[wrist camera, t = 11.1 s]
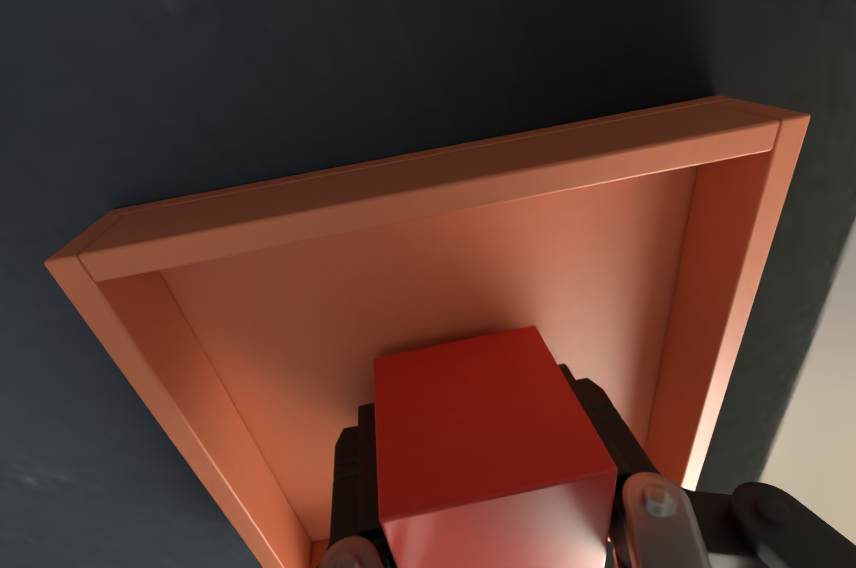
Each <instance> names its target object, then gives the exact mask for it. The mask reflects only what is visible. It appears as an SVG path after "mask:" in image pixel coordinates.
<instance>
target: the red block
mask: <svg viewBox="0 0 856 568" xmlns="http://www.w3.org/2000/svg"><path fill="white" fill-rule="evenodd" d="M373 378H374V403H375V429H376V454H377V480H378V505H379V522H380V524H381V527H382V529H383V532H384V535H385V537H386V540H387V542H388V545H389V548H390V550H391V553H392V556H393V558H394V561H395V563H396V566H397V568H604V565H605V558H606V551H607V544H608V537H609V530H610V523H611V516H612V508H613V501H614V494H615V487H616V480H617V473H618V469H617V467H616V465H615V463H614V461H613V460H612V458H611V456H610V454H609V453H608V451H607V449H606V447H605V446H604V444H603V442H602V441H601V439H600V437H599V435H598V434H597V432H596V430H595V428H594V427H593V425H592V423H591V421H590V420H589V418H588V416H587V415H586V413H585V411H584V409H583V408H582V406H581V404H580V402H579V401H578V399H577V397H576V396H575V394H574V392H573V390H572V389H571V387H570V385H569V383H568V382H567V380H566V378H565V376H564V375H563V373H562V371H561V370H560V368H559V366H558V364H557V363H556V361H555V359H554V357H553V356H552V354H551V352H550V350H549V349H548V347H547V345H546V344H545V342H544V340H543V338H542V337H541V335H540V333H539V331H538V330H537V328H536V326H528V327H524V328H519V329H514V330H509V331H504V332H499V333H494V334H489V335H485V336H480V337H475V338H470V339H465V340H460V341H455V342H451V343H446V344H441V345H436V346H431V347H426V348H421V349H417V350H412V351H407V352H402V353H397V354H392V355H387V356H383V357H378V358H374V359H373Z"/></svg>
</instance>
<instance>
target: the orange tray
mask: <svg viewBox="0 0 856 568" xmlns="http://www.w3.org/2000/svg"><path fill="white" fill-rule="evenodd" d="M809 120H810V115H809V114H807V113H802V112H797V111H792V110H787V109H783V108H778V107H773V106H768V105H763V104H758V103H754V102H749V101H744V100H739V99H734V98H733V99H732V98H729V97H725V96H720V95H716V96H711V97H705V98H700V99H695V100H690V101H684V102H679V103H674V104H668V105H663V106H658V107H653V108H647V109H642V110H637V111H631V112H626V113H621V114H616V115H610V116H605V117H600V118H594V119H589V120H584V121H579V122H573V123H568V124H563V125H557V126H552V127H547V128H542V129H536V130H531V131H526V132H520V133H515V134H510V135H505V136H499V137H494V138H489V139H483V140H478V141H473V142H468V143H462V144H457V145H452V146H446V147H441V148H436V149H431V150H425V151H420V152H415V153H409V154H404V155H399V156H394V157H388V158H383V159H378V160H372V161H367V162H362V163H357V164H351V165H346V166H341V167H335V168H330V169H325V170H320V171H314V172H309V173H304V174H298V175H293V176H288V177H283V178H277V179H272V180H267V181H261V182H256V183H251V184H246V185H240V186H235V187H230V188H224V189H219V190H214V191H209V192H203V193H198V194H193V195H187V196H182V197H177V198H172V199H166V200H161V201H156V202H150V203H145V204H140V205H135V206H129V207H124V208H119V209H113V210H111V211H109V212H108V213H107V214H106V215H104V216H103V217H102V218H101V219H99V220H98V221H97V222H95V223H94V224H93V225H92V226H90V227H89V228H88V229H86V230H85V231H84V232H82V233H81V234H80V235H78V236H77V237H76V238H74V239H73V240H72V241H71V242H69V243H68V244H67V245H65V246H64V247H63V248H61V249H60V250H59V251H57V252H56V253H55V254H53V255H52V256H51V257H50V258H48V259H47V260H46V261H45V262H44V264H45V266H46V267H47V269H48V270H49V272H50V273H51V274H52V276H53V277H54V279H55V280H56V281H57V283H58V284H59V285H60V287H61V288H62V290H63V291H64V292H65V294H66V295H67V297H68V298H69V299H70V301H71V302H72V303H73V305H74V306H75V308H76V309H77V310H78V312H79V313H80V315H81V316H82V317H83V319H84V320H85V321H86V323H87V324H88V326H89V327H90V328H91V330H92V331H93V333H94V334H95V335H96V337H97V338H98V339H99V341H100V342H101V344H102V345H103V346H104V348H105V349H106V351H107V352H108V353H109V355H110V356H111V357H112V359H113V360H114V362H115V363H116V364H117V366H118V367H119V369H120V370H121V371H122V373H123V374H124V376H125V377H126V378H127V380H128V381H129V382H130V384H131V385H132V387H133V388H134V389H135V391H136V392H137V394H138V395H139V396H140V398H141V399H142V400H143V402H144V403H145V405H146V406H147V407H148V409H149V410H150V412H151V413H152V414H153V416H154V417H155V418H156V420H157V421H158V423H159V424H160V425H161V427H162V428H163V430H164V431H165V432H166V434H167V435H168V436H169V438H170V439H171V441H172V442H173V443H174V445H175V446H176V448H177V449H178V450H179V452H180V453H181V454H182V456H183V457H184V459H185V460H186V461H187V463H188V464H189V466H190V467H191V468H192V470H193V471H194V473H195V474H196V475H197V477H198V478H199V479H200V481H201V482H202V484H203V485H204V486H205V488H206V489H207V491H208V492H209V493H210V495H211V496H212V497H213V499H214V500H215V502H216V503H217V504H218V506H219V507H220V509H221V510H222V511H223V513H224V514H225V515H226V517H227V518H228V520H229V521H230V522H231V524H232V525H233V527H234V528H235V529H236V531H237V532H238V533H239V535H240V536H241V538H242V539H243V540H244V542H245V543H246V545H247V546H248V547H249V549H250V550H251V551H252V553H253V554H254V556H255V557H256V558H257V560H258V561H259V563H260V564H261V565H262V567H263V568H316V567H317V566H318V564H319V563H320V561H321V560H322V558H323V556H324V554H325V553H326V550H327V548H328V544H329V539H330V525H331V507H332V490H333V482H334V479H333V472H334V454H335V445H336V442H337V440H338V438H339V436H340V434H341V432H342V430H343V429H344V428H348V427H353V426H358V407H359V406H360V405H365V404H369V403H374V378H373V359H374V358H378V357H383V356H387V355H392V354H397V353H402V352H407V351H412V350H417V349H421V348H426V347H431V346H436V345H441V344H446V343H451V342H455V341H460V340H465V339H470V338H475V337H480V336H485V335H489V334H494V333H499V332H504V331H509V330H514V329H519V328H524V327H528V326H536V328H537V330H538V331H539V333H540V335H541V337H542V338H543V340H544V342H545V344H546V345H547V347H548V349H549V350H550V352H551V354H552V356H553V357H554V359H555V361H556V363H557V364H563V363H564V364H566V365H567V366H568V368H569V369H570V371H571V373H572V374H573V376H574V378H575V379H576V380H578V379H583V378H589V379H590V380H591V381H593V382H594V383H596V384H597V385H598V386H600V387H601V388H602V389H603V390H604V391H605V393H606V394H607V396H608V397H609V399H610V400H611V402H612V403H613V406H614V407H615V408H616V409H617V411H618V412H619V414H620V415H621V418H622V420H624V421H625V423H626V424H627V426H628V427H629V429H630V430H631V432H632V433H633V435H634V437H635V438H636V440H637V441H638V443H639V444H640V446H641V447H642V449H643V450H644V452H645V453H646V455H647V456H648V458H649V459H650V461H651V462H652V464H653V465H654V467H655V468H656V469H657V470H658V471H659V472H660V473H661V475H663V476H666V477H667V478H669V479H671V480H673V481H674V482H675V483H677V484H678V485H679V486H680V487H683V488H685V489H688V490H692V491H695V488H696V485H697V482H698V478H699V475H700V472H701V469H702V465H703V462H704V459H705V456H706V453H707V449H708V446H709V443H710V440H711V436H712V433H713V430H714V427H715V423H716V420H717V417H718V414H719V411H720V407H721V404H722V401H723V398H724V394H725V391H726V388H727V385H728V381H729V378H730V375H731V372H732V369H733V365H734V362H735V359H736V356H737V352H738V349H739V346H740V343H741V339H742V336H743V333H744V330H745V327H746V323H747V320H748V317H749V314H750V310H751V307H752V304H753V301H754V298H755V294H756V291H757V288H758V285H759V281H760V278H761V275H762V272H763V268H764V265H765V262H766V259H767V256H768V252H769V249H770V246H771V243H772V239H773V236H774V233H775V230H776V226H777V223H778V220H779V217H780V214H781V210H782V207H783V204H784V201H785V197H786V194H787V191H788V188H789V184H790V181H791V178H792V175H793V172H794V168H795V165H796V162H797V159H798V155H799V152H800V149H801V146H802V143H803V139H804V136H805V133H806V130H807V126H808V123H809ZM608 541H610V538H609V537H608Z"/></svg>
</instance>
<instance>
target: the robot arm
mask: <svg viewBox="0 0 856 568" xmlns="http://www.w3.org/2000/svg"><path fill="white" fill-rule="evenodd" d="M558 366H559V368H560V370H561V371H562V373H563V375H564V376H565V378H566V380H567V382H568V383H569V385H570V387H571V389H572V390H573V392H574V394H575V396H576V397H577V399H578V401H579V402H580V404H581V406H582V408H583V409H584V411H585V413H586V415H587V416H588V418H589V420H590V421H591V423H592V425H593V427H594V428H595V430H596V432H597V434H598V435H599V437H600V439H601V441H602V442H603V444H604V446H605V447H606V449H607V451H608V453H609V454H610V456H611V458H612V460H613V461H614V463H615V465H616V467H617V469H618V473H617V480H616V487H615V494H614V501H613V508H612V516H611V523H610V530H609V538H610V541H611V543H612V545H613V547H614V548H613V560H614V566H615V568H856V545H854V544H853V543H852V542H850V541H849V540H848V539H847V538H845V537H844V536H843V535H841V534H840V533H839V532H837V531H836V530H835V529H834V528H832V527H831V526H830V525H829V524H827V523H826V522H825V521H823V520H822V519H821V518H819V517H818V516H817V515H816V514H814V513H813V512H812V511H810V510H809V509H808V508H807V507H805V506H804V505H803V504H801V503H800V502H799V501H798V500H796V499H795V498H794V497H792V496H791V495H790V494H788V493H787V492H785V491H783V490H781V489H779V488H777V487H775V486H772V485H768V484H765V483H760V482H748V483H744V484H741V485H739V486H738V487H737V488H736V489H735V490H734V492H733V494H732V495H726V494H716V493H707V492H698V491H692V490H688V489H685V488H683V487H680V486H679V485H678V484H677V483H675V482H674V481H673V480H671V479H669V478H667V477H666V476H663V475H661V473H660V472H659V471H658V470H657V469H656V468H655V467H654V465H653V464H652V462H651V461H650V459H649V458H648V456H647V455H646V453H645V452H644V450H643V449H642V447H641V446H640V444H639V443H638V441H637V440H636V438H635V437H634V435H633V433H632V432H631V430H630V429H629V427H628V426H627V424H626V423H625V421H624V420H622V418H621V415H620V414H619V412H618V411H617V409H616V408H615V407H614V406H613V403H612V402H611V400H610V399H609V397H608V396H607V394H606V393H605V391H604V390H603V389H602V388H601V387H600V386H598V385H597V384H596V383H594V382H593V381H591V380H590V379H589V378H583V379H578V380H576V379H575V378H574V376H573V374H572V373H571V371H570V369H569V368H568V366H567V365H566V364H564V363H563V364H558ZM333 479H334V482H333V490H332V507H331V525H330V539H329V544H328V548H327V550H326V553H325V554H324V556H323V558H322V560H321V561H320V563H319V564H318V566H317V567H316V568H397V566H396V563H395V561H394V558H393V556H392V553H391V550H390V548H389V545H388V542H387V540H386V537H385V535H384V532H383V529H382V527H381V524H380V522H379V505H378V480H377V454H376V429H375V403H369V404H365V405H360V406H359V407H358V426H353V427H348V428H344V429H343V430H342V432H341V434H340V436H339V438H338V440H337V442H336V445H335V454H334V472H333Z"/></svg>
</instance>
